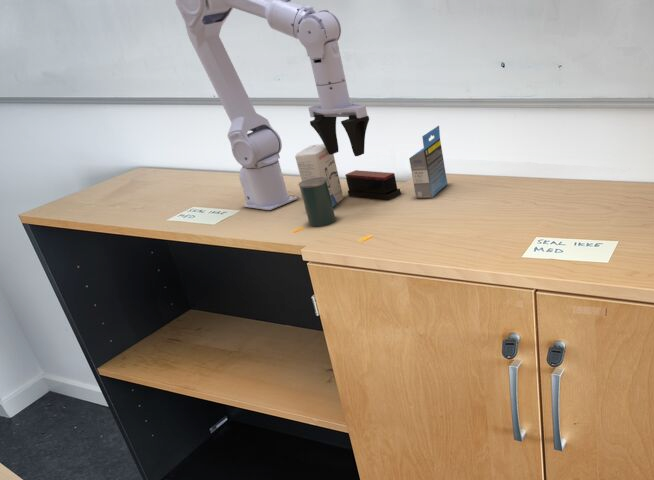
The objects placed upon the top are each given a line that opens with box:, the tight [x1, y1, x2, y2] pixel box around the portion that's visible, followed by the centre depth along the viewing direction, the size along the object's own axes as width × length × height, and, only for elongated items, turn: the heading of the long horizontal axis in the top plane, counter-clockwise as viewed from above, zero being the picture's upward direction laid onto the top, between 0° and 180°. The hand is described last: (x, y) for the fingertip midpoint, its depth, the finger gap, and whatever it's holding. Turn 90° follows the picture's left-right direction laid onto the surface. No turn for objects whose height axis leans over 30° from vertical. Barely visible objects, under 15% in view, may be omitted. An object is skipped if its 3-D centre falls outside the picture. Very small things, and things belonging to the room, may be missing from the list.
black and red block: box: [345, 169, 402, 201], centre depth 144 cm, size 12×4×5 cm, turn 53°
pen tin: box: [298, 177, 337, 228], centre depth 132 cm, size 5×5×8 cm
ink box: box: [295, 143, 345, 208], centre depth 141 cm, size 9×5×12 cm, turn 168°
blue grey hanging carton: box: [408, 125, 448, 199], centre depth 139 cm, size 9×4×12 cm, turn 160°
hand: (346, 154), depth 137 cm, fingers open, 7 cm apart
